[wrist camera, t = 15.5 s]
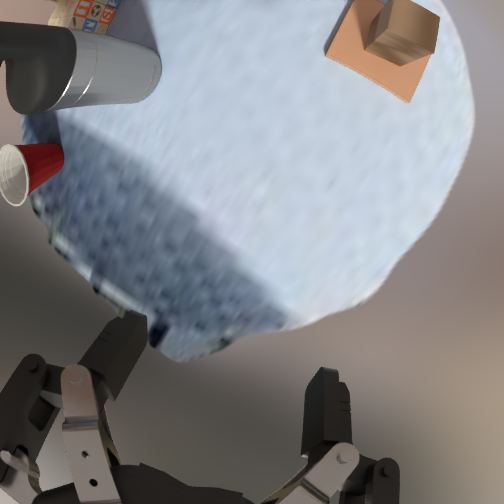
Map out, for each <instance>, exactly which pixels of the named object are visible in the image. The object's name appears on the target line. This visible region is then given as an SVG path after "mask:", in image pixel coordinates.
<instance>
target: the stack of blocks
mask: <svg viewBox="0 0 504 504" xmlns="http://www.w3.org/2000/svg"><path fill="white" fill-rule="evenodd" d="M47 1H51V2H55V3H57V4H56V6H55V9H54V11H53V13H52V15H51V18H50V20H49V22H48V25H51V26H60V27H66V28H72V29H78V30H83V31H89V32H94V33H98V34H102V35H105V34H106V32H107V29H108V27H109V24H110V22H111V20H112V18H113V16H114V14H115V12H116V9H117V7H118V5H119V3H120V1H121V0H47Z"/></svg>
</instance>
